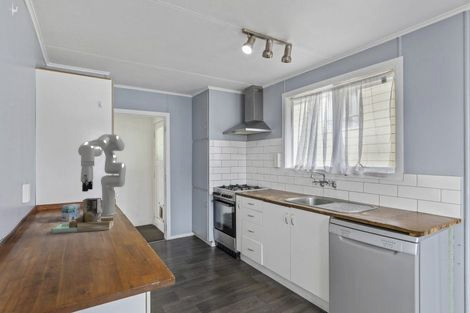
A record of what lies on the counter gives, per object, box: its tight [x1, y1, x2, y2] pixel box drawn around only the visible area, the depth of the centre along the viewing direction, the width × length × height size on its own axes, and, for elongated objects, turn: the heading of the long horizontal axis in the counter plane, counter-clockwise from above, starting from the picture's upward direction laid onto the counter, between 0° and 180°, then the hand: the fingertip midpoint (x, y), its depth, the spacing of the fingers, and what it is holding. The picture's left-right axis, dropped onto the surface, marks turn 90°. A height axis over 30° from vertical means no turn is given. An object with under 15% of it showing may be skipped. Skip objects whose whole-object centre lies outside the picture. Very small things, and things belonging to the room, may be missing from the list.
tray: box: [50, 222, 78, 234], centre depth 157 cm, size 14×14×2 cm
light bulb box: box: [61, 203, 81, 222], centre depth 184 cm, size 11×7×11 cm, turn 171°
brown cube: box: [75, 216, 83, 225], centre depth 159 cm, size 4×4×4 cm
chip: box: [68, 220, 77, 228], centre depth 159 cm, size 4×4×4 cm
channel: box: [76, 216, 115, 233], centre depth 161 cm, size 13×18×5 cm
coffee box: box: [82, 197, 102, 223], centre depth 161 cm, size 9×6×16 cm
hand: (87, 190), depth 162 cm, fingers open, 9 cm apart
